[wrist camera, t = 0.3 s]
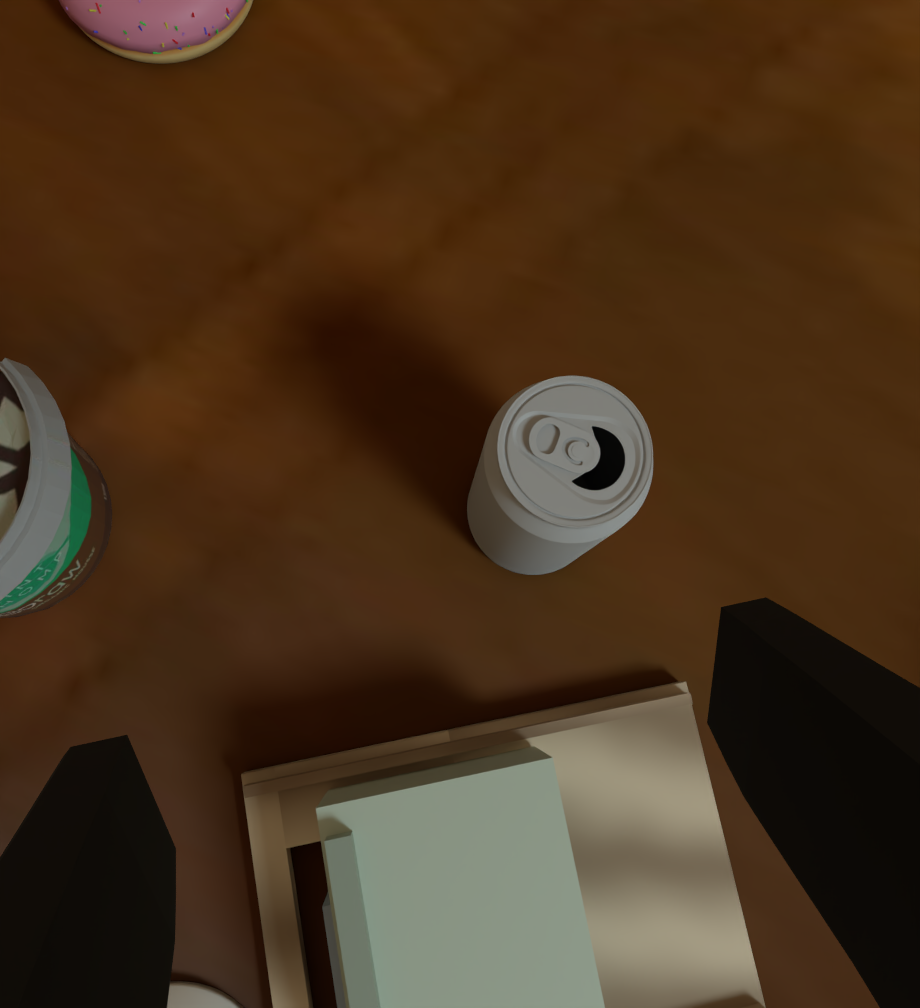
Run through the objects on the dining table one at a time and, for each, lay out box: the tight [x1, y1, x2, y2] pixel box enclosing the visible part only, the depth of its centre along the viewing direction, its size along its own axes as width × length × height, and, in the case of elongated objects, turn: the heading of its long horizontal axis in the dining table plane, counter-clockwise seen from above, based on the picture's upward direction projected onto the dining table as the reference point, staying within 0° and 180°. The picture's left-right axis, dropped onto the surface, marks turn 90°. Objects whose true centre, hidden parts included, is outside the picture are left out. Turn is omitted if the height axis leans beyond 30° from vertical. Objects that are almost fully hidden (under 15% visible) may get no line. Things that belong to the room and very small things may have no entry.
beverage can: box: [467, 376, 653, 575], centre depth 34 cm, size 6×6×12 cm
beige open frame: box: [241, 682, 765, 1008], centre depth 36 cm, size 15×21×2 cm
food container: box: [0, 358, 112, 618], centre depth 33 cm, size 12×6×10 cm, turn 139°
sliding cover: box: [316, 746, 605, 1008], centre depth 32 cm, size 12×10×6 cm
